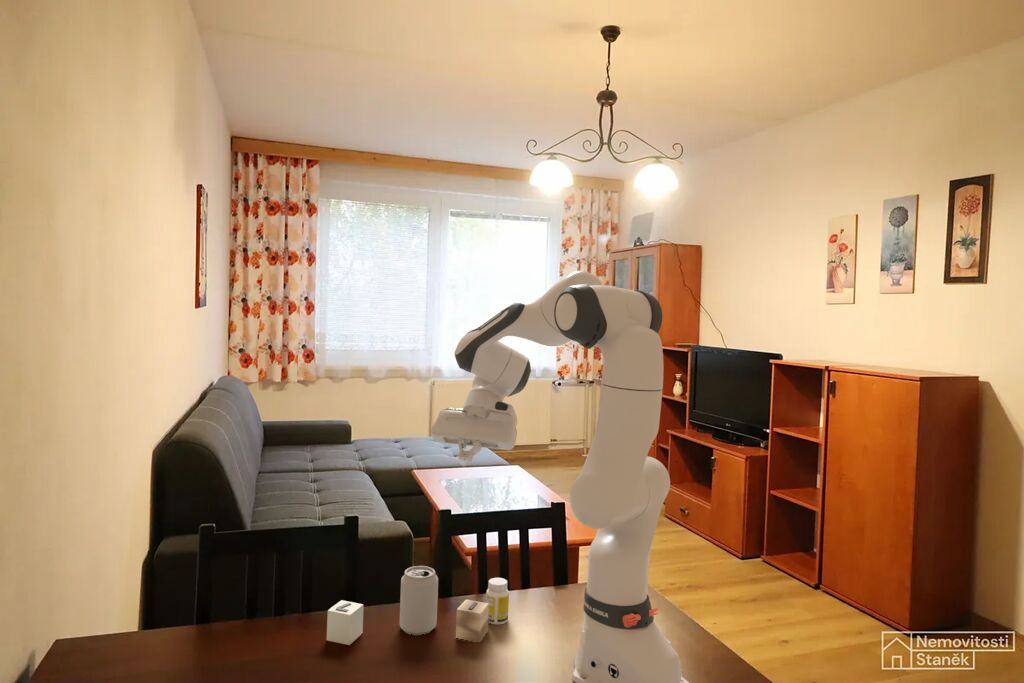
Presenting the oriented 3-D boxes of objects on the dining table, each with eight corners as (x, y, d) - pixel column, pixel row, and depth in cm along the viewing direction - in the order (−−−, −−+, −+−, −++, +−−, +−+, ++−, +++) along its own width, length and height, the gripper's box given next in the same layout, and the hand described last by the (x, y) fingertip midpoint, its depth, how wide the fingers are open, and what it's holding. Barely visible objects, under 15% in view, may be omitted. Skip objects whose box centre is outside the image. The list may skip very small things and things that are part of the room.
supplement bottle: (508, 616, 146) (510, 577, 145) (506, 626, 141) (508, 586, 141) (486, 614, 146) (488, 575, 146) (483, 624, 141) (485, 584, 141)
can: (437, 636, 135) (439, 577, 135) (399, 637, 134) (401, 578, 134) (435, 619, 143) (437, 563, 142) (399, 620, 142) (401, 564, 141)
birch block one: (487, 632, 138) (488, 602, 138) (479, 643, 133) (480, 612, 133) (464, 627, 140) (466, 598, 139) (455, 638, 135) (456, 608, 135)
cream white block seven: (362, 633, 135) (363, 603, 135) (349, 645, 130) (350, 613, 130) (340, 629, 137) (341, 599, 136) (326, 640, 132) (327, 609, 132)
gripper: (438, 399, 163) (418, 446, 155) (519, 406, 157) (503, 456, 148) (444, 415, 168) (426, 462, 159) (523, 422, 162) (509, 472, 153)
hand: (464, 459), depth 154 cm, fingers closed
